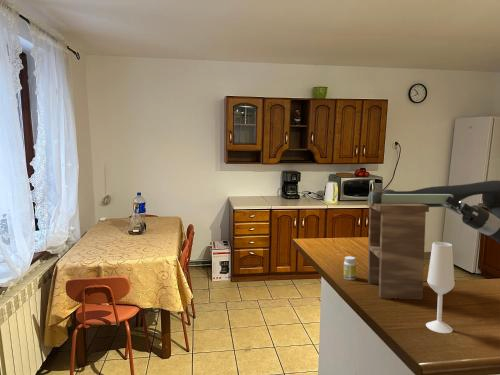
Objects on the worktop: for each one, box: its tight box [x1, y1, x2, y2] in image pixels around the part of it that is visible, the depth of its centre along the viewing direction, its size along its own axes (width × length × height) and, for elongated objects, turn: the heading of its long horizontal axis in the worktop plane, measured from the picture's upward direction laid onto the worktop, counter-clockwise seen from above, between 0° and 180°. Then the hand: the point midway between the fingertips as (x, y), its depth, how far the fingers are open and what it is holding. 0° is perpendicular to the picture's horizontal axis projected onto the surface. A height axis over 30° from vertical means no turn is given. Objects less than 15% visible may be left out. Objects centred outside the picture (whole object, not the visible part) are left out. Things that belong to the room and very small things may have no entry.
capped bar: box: [368, 190, 453, 204], centre depth 122 cm, size 4×28×4 cm, turn 86°
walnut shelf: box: [366, 199, 430, 300], centre depth 124 cm, size 16×16×32 cm
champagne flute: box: [425, 241, 456, 334], centre depth 96 cm, size 7×7×24 cm
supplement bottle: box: [343, 255, 357, 281], centre depth 137 cm, size 5×5×8 cm
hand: (441, 197), depth 121 cm, fingers open, 8 cm apart
